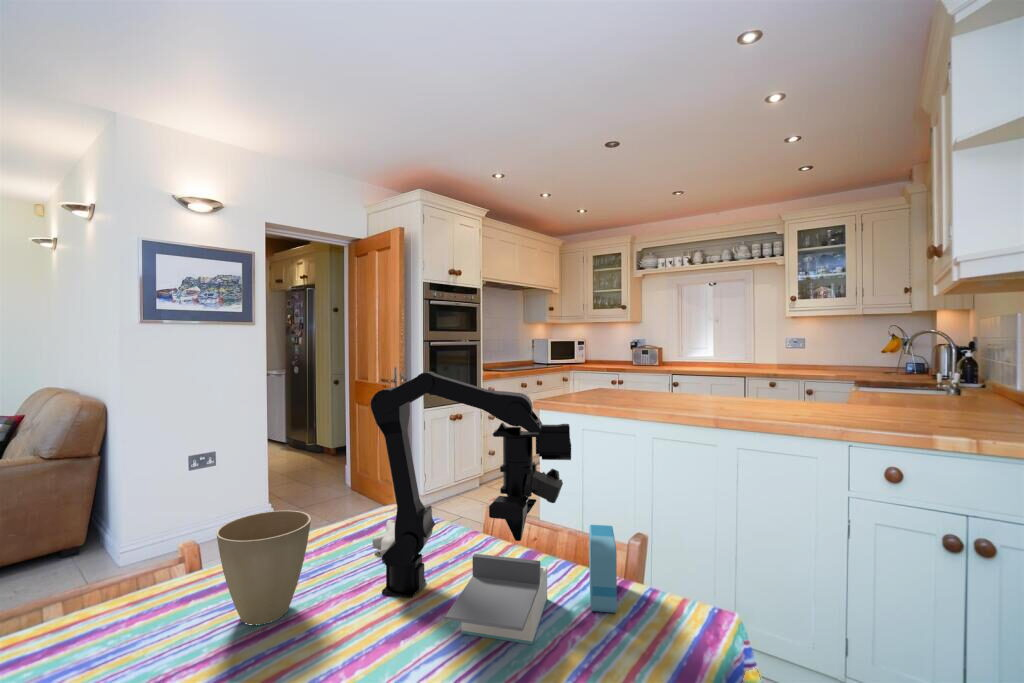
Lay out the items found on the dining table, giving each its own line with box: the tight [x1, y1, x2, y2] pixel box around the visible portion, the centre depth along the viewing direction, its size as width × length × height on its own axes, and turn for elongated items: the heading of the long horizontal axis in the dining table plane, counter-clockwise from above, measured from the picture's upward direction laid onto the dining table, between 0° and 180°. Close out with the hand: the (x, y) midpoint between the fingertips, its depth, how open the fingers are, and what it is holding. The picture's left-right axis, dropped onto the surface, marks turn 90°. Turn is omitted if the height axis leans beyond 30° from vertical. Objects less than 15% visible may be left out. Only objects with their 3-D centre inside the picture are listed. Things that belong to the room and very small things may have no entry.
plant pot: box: [216, 510, 312, 626], centre depth 84 cm, size 15×15×16 cm
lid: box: [444, 553, 541, 631], centre depth 77 cm, size 12×14×4 cm
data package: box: [588, 524, 618, 614], centre depth 89 cm, size 12×4×12 cm, turn 172°
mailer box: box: [461, 565, 548, 645], centre depth 84 cm, size 12×14×6 cm
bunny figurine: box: [372, 519, 396, 558], centre depth 112 cm, size 10×5×15 cm
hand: (518, 540), depth 91 cm, fingers closed
